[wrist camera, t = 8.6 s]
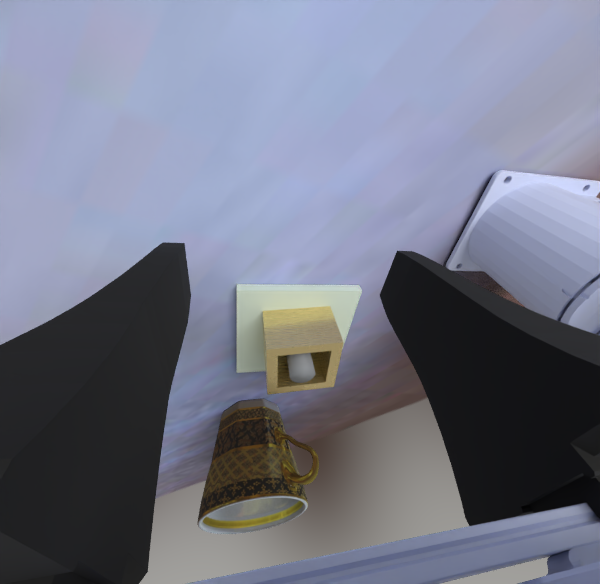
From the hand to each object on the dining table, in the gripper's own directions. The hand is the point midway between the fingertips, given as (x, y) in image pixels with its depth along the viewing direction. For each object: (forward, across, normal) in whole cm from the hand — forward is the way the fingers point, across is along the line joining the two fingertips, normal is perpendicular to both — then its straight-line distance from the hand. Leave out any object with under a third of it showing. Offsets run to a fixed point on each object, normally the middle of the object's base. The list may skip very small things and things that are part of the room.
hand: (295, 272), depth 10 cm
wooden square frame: (+9, -3, +13) cm, 16 cm away
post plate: (+10, -3, +13) cm, 17 cm away
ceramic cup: (+10, -1, +26) cm, 28 cm away
